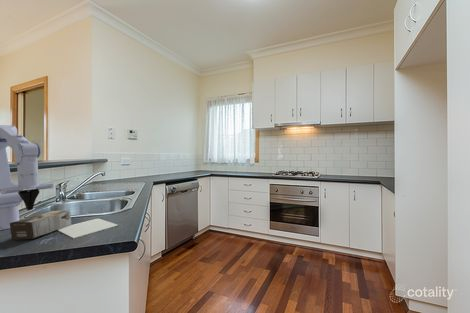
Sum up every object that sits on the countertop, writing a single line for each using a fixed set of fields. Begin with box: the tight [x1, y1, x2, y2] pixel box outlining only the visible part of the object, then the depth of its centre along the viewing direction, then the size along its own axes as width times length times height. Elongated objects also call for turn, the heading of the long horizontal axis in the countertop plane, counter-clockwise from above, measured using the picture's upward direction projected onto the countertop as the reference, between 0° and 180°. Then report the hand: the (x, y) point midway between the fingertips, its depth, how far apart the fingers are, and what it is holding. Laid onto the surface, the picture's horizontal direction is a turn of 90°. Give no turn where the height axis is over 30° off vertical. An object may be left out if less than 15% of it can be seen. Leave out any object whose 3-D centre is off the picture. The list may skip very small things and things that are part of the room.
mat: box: [56, 218, 119, 239], centre depth 90 cm, size 18×16×1 cm
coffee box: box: [9, 209, 72, 241], centre depth 86 cm, size 9×6×16 cm
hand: (29, 209), depth 84 cm, fingers closed
